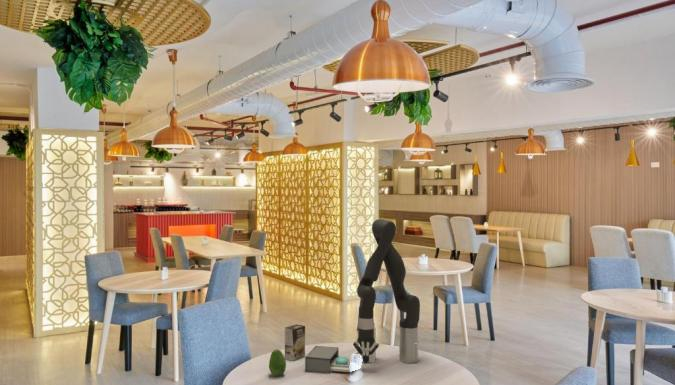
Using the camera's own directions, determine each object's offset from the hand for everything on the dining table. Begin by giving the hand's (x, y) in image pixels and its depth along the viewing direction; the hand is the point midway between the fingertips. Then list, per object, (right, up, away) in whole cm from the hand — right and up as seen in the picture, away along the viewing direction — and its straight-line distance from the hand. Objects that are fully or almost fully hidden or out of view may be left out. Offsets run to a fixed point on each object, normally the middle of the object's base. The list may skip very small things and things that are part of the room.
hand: (366, 362), depth 254 cm
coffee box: (-35, -4, +18) cm, 40 cm away
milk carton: (+2, -4, +14) cm, 15 cm away
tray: (-11, -3, +3) cm, 12 cm away
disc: (-12, -1, +3) cm, 12 cm away
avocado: (-42, -4, -7) cm, 42 cm away
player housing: (-21, -3, +5) cm, 22 cm away
